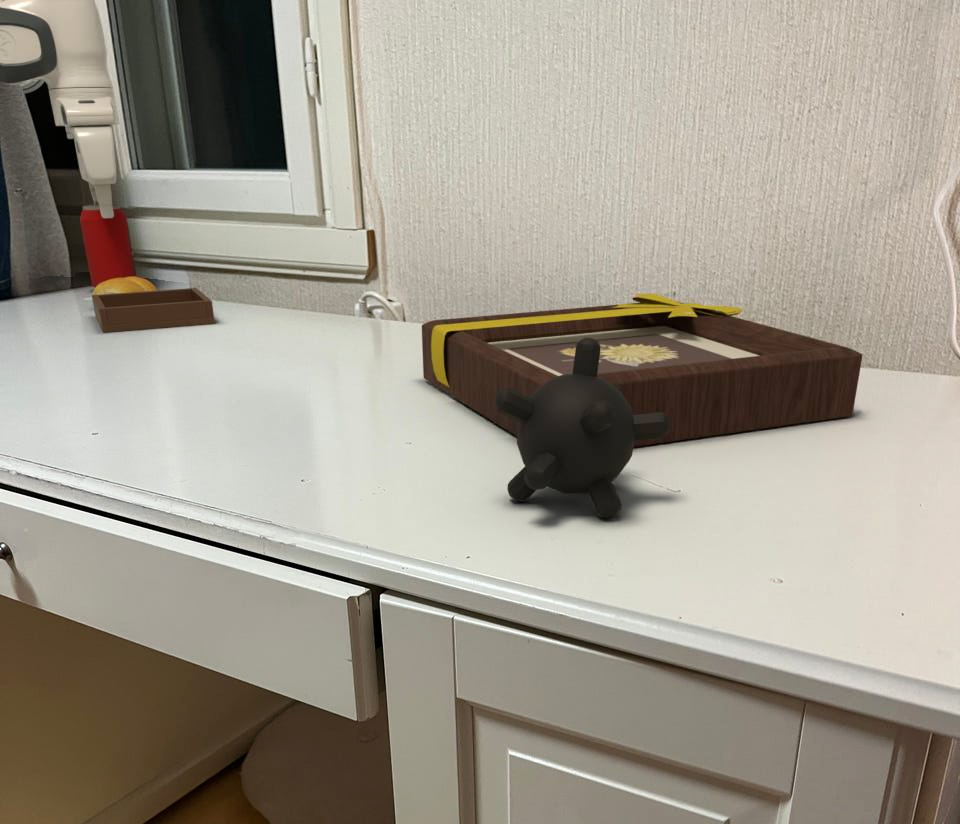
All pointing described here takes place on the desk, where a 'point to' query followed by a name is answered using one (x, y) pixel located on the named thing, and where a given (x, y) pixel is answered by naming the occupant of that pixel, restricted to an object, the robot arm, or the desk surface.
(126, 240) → the beverage can
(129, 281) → the bread roll
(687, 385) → the brown gift box
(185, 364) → the desk surface
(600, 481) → the naval mine
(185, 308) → the serving tray
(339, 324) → the desk surface
